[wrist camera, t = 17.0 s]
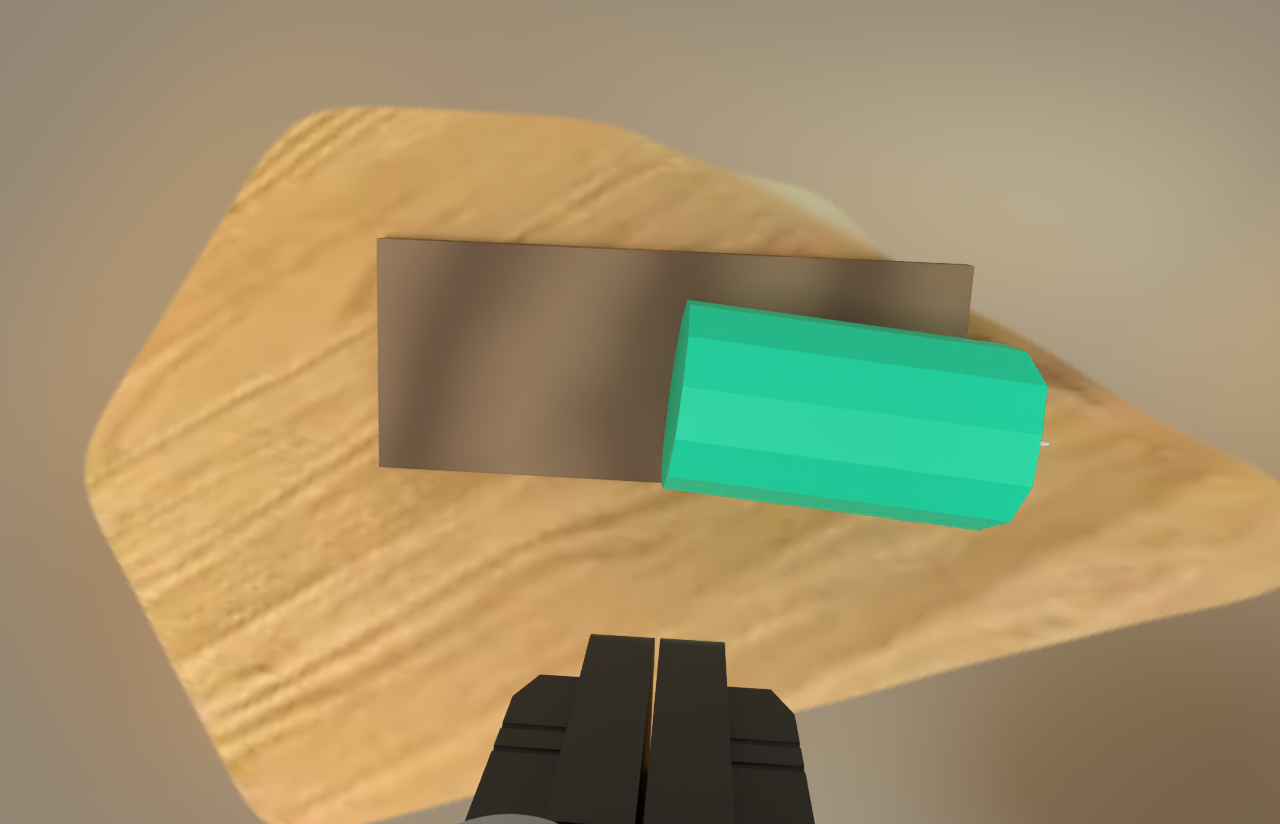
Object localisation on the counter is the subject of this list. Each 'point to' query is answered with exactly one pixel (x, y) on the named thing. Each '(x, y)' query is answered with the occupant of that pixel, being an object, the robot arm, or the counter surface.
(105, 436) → the counter surface
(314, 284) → the counter surface
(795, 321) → the candle
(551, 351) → the board
